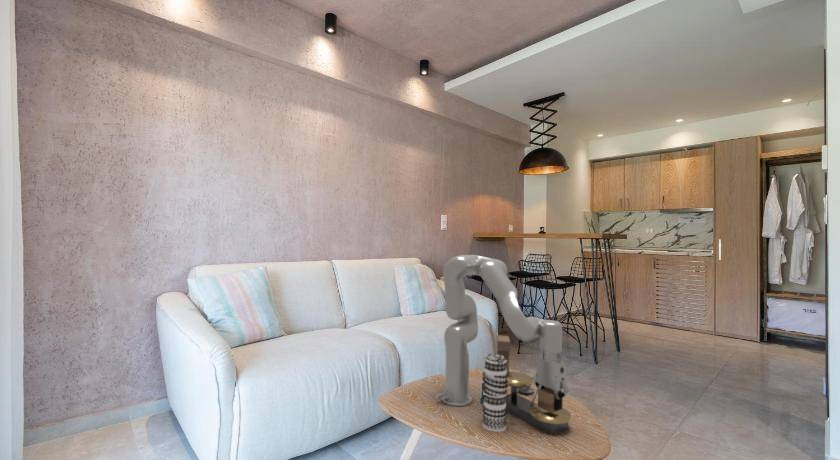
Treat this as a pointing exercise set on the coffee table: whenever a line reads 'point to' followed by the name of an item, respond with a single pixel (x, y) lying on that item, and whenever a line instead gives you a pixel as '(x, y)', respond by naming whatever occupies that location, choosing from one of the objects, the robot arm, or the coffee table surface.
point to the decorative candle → (495, 393)
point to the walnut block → (547, 399)
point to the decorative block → (504, 348)
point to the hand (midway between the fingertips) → (550, 405)
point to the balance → (533, 407)
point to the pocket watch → (525, 388)
